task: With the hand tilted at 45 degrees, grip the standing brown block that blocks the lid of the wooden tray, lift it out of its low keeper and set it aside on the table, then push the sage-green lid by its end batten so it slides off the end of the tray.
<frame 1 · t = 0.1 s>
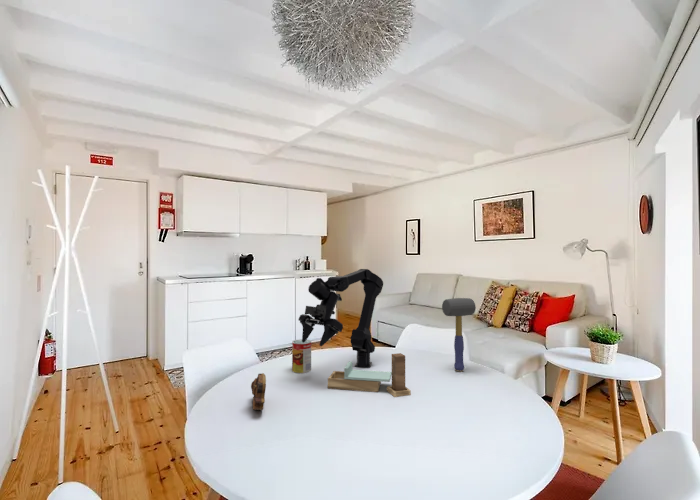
hand: (311, 344, 132), 15 cm above the table, tool tilted 35°, fingers open, 9 cm apart
wooden tray: (354, 385, 130), on the table
brown block: (398, 373, 124), in the keeper
wooden carving: (258, 408, 111), on the table
lid: (368, 371, 129), point 6 cm above the table, slide at 6.0 cm
rubber mallet: (459, 371, 147), on the table
keeper: (398, 392, 123), on the table
canned food: (301, 370, 148), on the table
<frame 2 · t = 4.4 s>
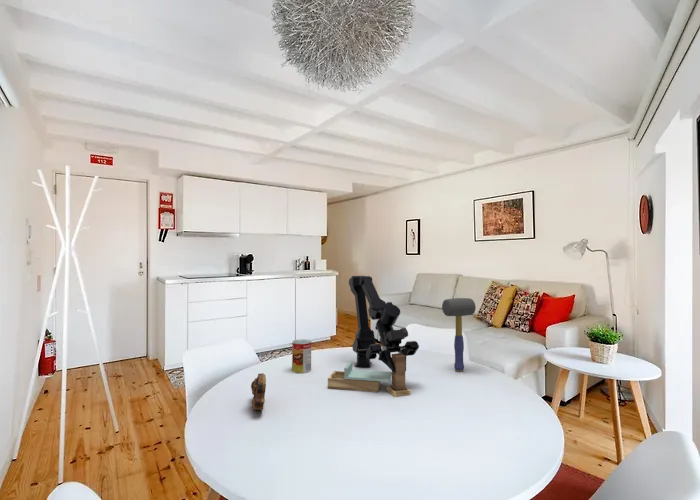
hand: (400, 371, 122), 8 cm above the table, tool tilted 45°, fingers closed on brown block, 3 cm apart
brown block: (398, 373, 124), in the keeper, touching gripper
everything else where it was.
when the fingers open (8 cm above the table, at t = 7.6 s): brown block stays where it is, on the table.
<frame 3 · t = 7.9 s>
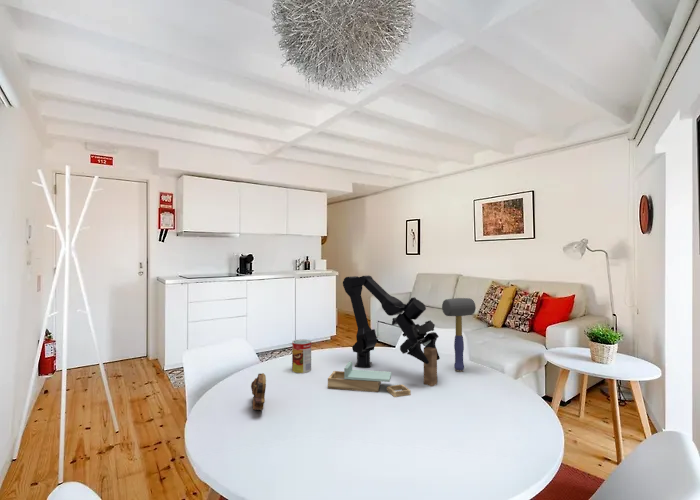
hand: (433, 361, 131), 9 cm above the table, tool tilted 45°, fingers open, 7 cm apart
brown block: (430, 366, 132), on the table
everything else where it was.
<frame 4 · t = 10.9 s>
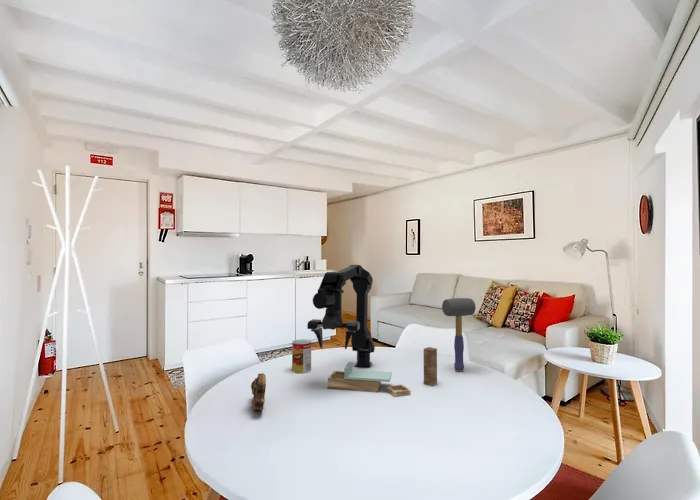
hand: (333, 348, 132), 13 cm above the table, tool pointing down, fingers open, 9 cm apart
nothing on the table moved.
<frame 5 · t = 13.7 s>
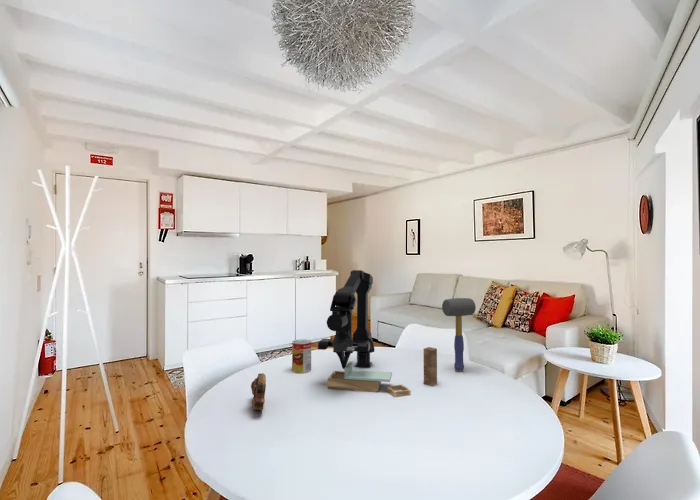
hand: (344, 368, 131), 6 cm above the table, tool pointing down, fingers closed
lid: (368, 371, 129), point 6 cm above the table, slide at 6.1 cm, touching gripper
everything else where it was.
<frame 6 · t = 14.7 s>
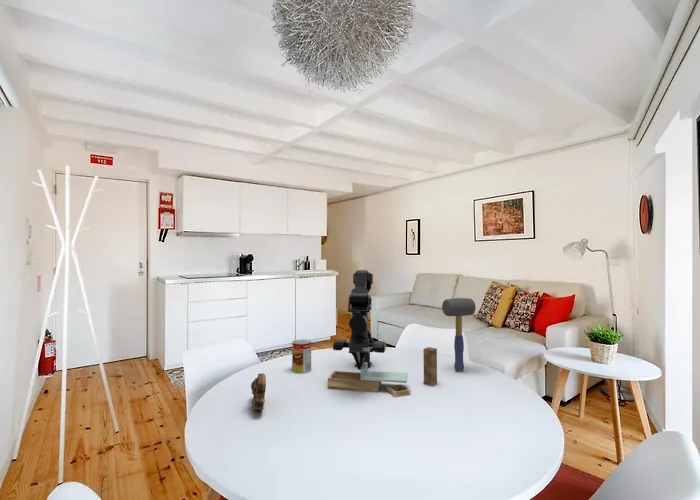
hand: (359, 369, 130), 6 cm above the table, tool pointing down, fingers closed
lid: (384, 372, 128), point 6 cm above the table, slide at 11.8 cm, touching gripper
everything else where it was.
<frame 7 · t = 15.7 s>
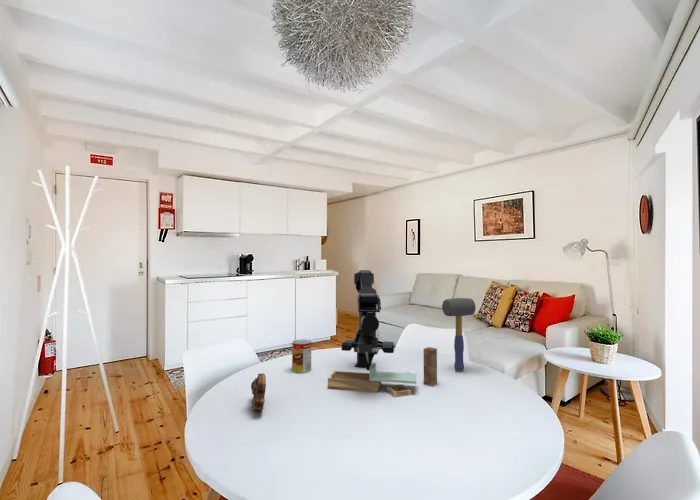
hand: (368, 370, 129), 6 cm above the table, tool pointing down, fingers closed
lid: (393, 372, 127), point 6 cm above the table, slide at 15.0 cm, touching gripper
everything else where it was.
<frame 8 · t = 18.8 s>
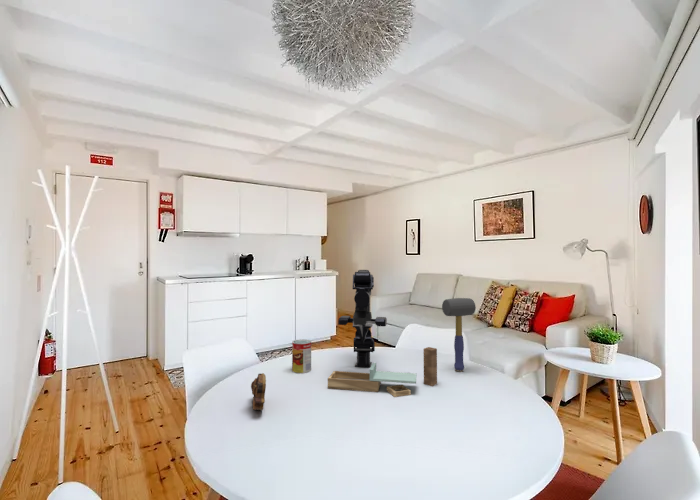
hand: (362, 342, 141), 13 cm above the table, tool pointing down, fingers closed
lid: (393, 372, 127), point 6 cm above the table, slide at 15.0 cm
everything else where it was.
at the end: lid slide at 15.0 cm; brown block moved 15.5 cm from its start; the gripper is holding nothing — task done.
